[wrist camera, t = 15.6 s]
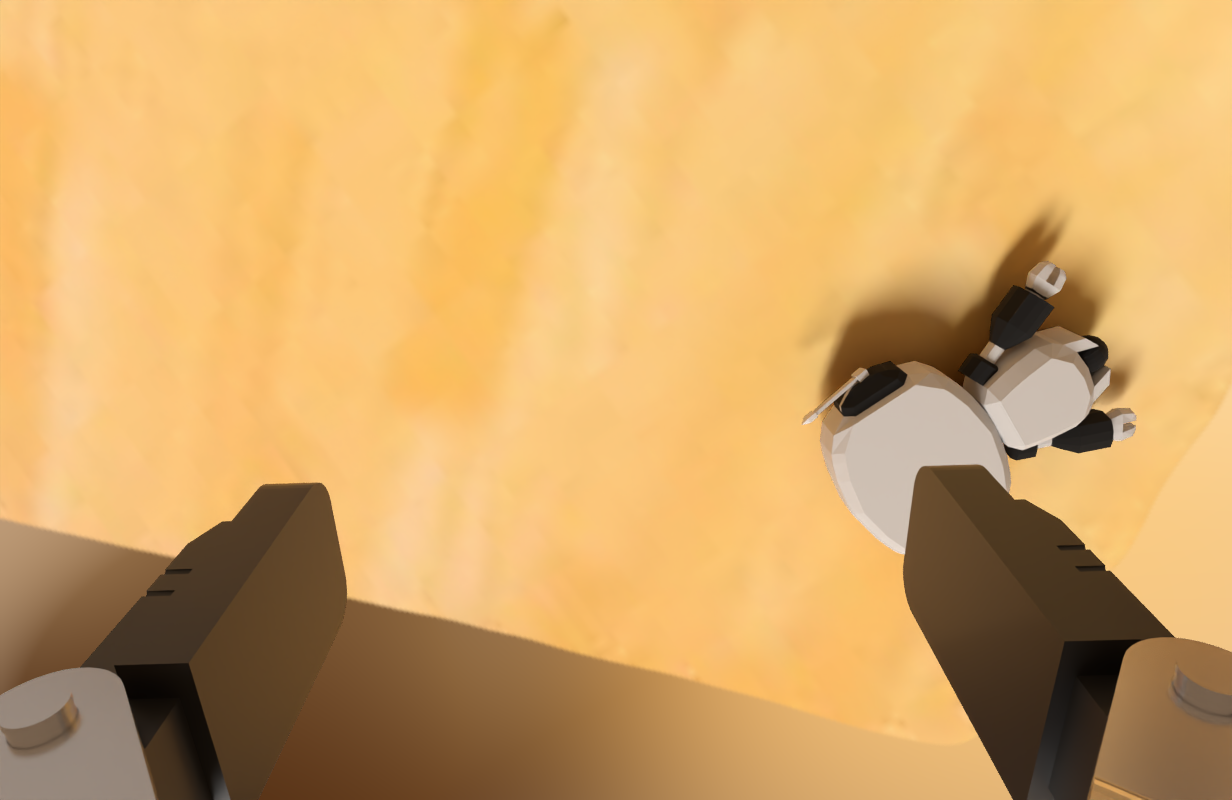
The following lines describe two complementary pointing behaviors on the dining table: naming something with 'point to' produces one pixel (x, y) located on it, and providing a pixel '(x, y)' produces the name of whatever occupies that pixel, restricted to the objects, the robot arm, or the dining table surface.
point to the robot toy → (968, 410)
